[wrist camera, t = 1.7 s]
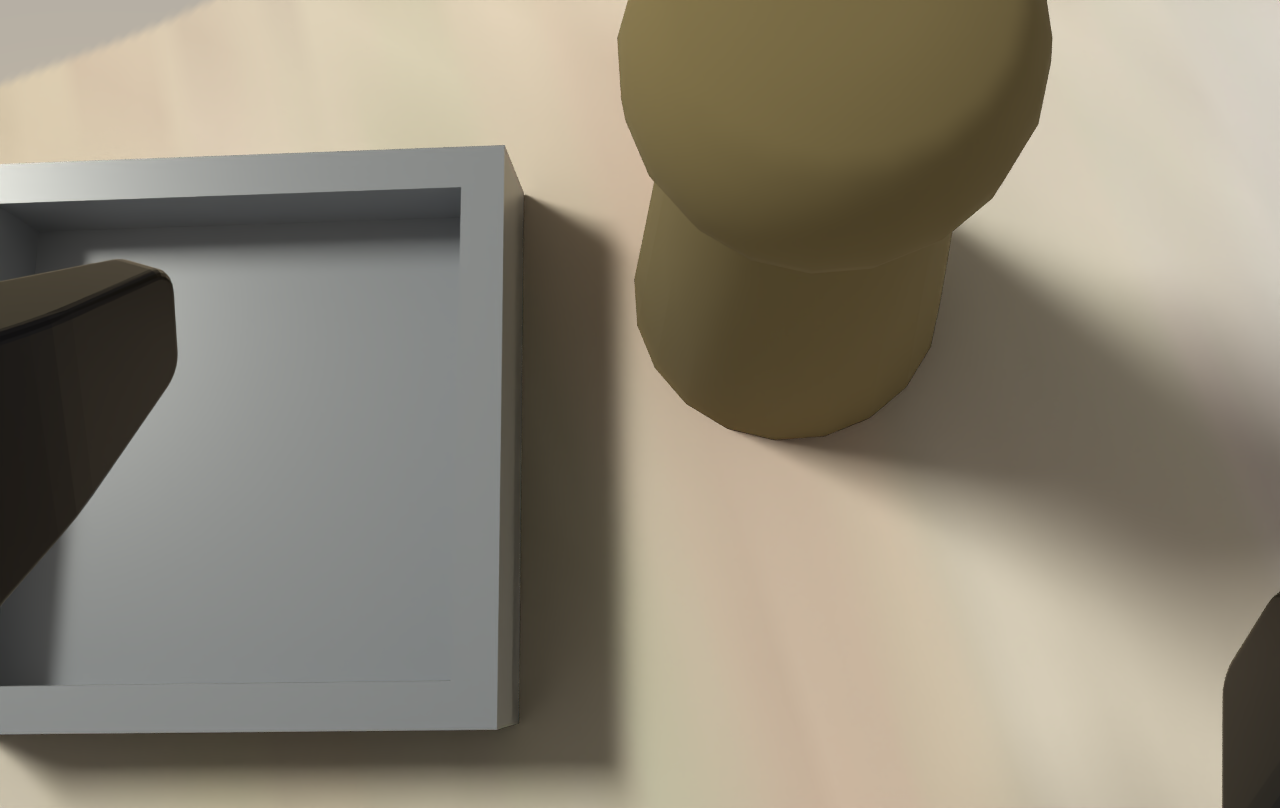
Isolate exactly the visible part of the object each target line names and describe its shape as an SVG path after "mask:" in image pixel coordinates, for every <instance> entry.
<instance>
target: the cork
mask: <svg viewBox="0 0 1280 808" xmlns="http://www.w3.org/2000/svg"><path fill="white" fill-rule="evenodd" d="M617 40H618V56H619V71H620V87H621V100H622V105H623V110H624V115H625V120H626V123H627V125H628V127H629V130H630V132H631V134H632V137H633V139H634V141H635V144H636V146H637V148H638V151H639V153H640V155H641V158H642V160H643V162H644V165H645V167H646V169H647V172H648V174H649V176H650V177H651V178H652V180H653V181H654V186H653V191H652V196H651V201H650V206H649V211H648V215H647V220H646V225H645V230H644V235H643V240H642V245H641V250H640V255H639V259H638V264H637V269H636V274H635V279H634V282H635V297H636V313H637V326H638V328H639V330H640V333H641V335H642V338H643V340H644V342H645V345H646V347H647V350H648V352H649V355H650V357H651V359H652V362H653V364H654V367H655V368H656V370H657V371H658V372H659V373H660V374H661V375H662V376H663V378H664V379H665V380H666V381H667V382H668V383H669V385H670V386H671V387H672V388H673V389H674V390H675V392H676V393H677V394H678V395H679V396H680V397H681V398H682V400H683V401H684V402H685V403H686V404H688V405H689V406H691V407H692V408H694V409H696V410H697V411H699V412H701V413H702V414H704V415H706V416H707V417H709V418H711V419H712V420H714V421H716V422H717V423H719V424H721V425H722V426H724V427H726V428H727V429H732V430H736V431H740V432H744V433H748V434H753V435H757V436H761V437H765V438H769V439H773V440H780V439H794V438H807V437H821V436H826V435H829V434H831V433H834V432H836V431H838V430H841V429H843V428H846V427H848V426H851V425H853V424H856V423H858V422H861V421H863V420H866V419H868V418H870V417H871V416H872V415H874V414H875V413H876V412H877V411H878V410H880V409H881V408H882V407H883V406H884V405H886V404H887V403H888V402H889V401H890V400H891V399H893V398H894V397H895V396H896V395H897V394H899V393H900V392H901V391H902V390H903V389H904V388H906V387H907V385H908V383H909V382H910V380H911V378H912V377H913V375H914V373H915V372H916V370H917V368H918V367H919V365H920V363H921V362H922V360H923V358H924V357H925V355H926V353H927V352H928V350H929V349H930V347H931V342H932V338H933V333H934V328H935V324H936V319H937V314H938V310H939V305H940V300H941V294H942V288H943V283H944V277H945V271H946V265H947V259H948V254H949V248H950V242H951V236H952V231H954V230H955V229H956V228H957V227H958V226H960V225H961V224H962V223H963V222H964V221H966V220H967V219H968V218H969V217H970V216H972V215H973V214H974V213H975V212H976V211H978V210H979V209H980V208H981V207H982V206H984V205H985V204H986V203H987V202H988V201H990V200H991V199H992V198H993V197H994V195H995V193H996V192H997V190H998V189H999V187H1000V186H1001V184H1002V183H1003V181H1004V179H1005V178H1006V176H1007V175H1008V173H1009V171H1010V170H1011V168H1012V166H1013V165H1014V163H1015V161H1016V160H1017V158H1018V157H1019V155H1020V153H1021V152H1022V150H1023V148H1024V147H1025V145H1026V143H1027V142H1028V140H1029V138H1030V137H1031V135H1032V134H1033V132H1034V130H1035V129H1036V127H1037V125H1038V123H1039V119H1040V114H1041V109H1042V104H1043V99H1044V94H1045V89H1046V84H1047V79H1048V74H1049V69H1050V65H1051V53H1052V32H1051V26H1050V19H1049V12H1048V6H1047V0H628V2H627V6H626V9H625V13H624V16H623V20H622V23H621V27H620V30H619V34H618V38H617Z"/></svg>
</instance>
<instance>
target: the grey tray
mask: <svg viewBox="0 0 1280 808" xmlns="http://www.w3.org/2000/svg"><path fill="white" fill-rule="evenodd" d="M523 227H524V192H523V190H522V187H521V185H520V182H519V180H518V177H517V175H516V172H515V170H514V167H513V165H512V162H511V160H510V157H509V155H508V153H507V150H506V148H505V145H496V146H470V147H443V148H416V149H390V150H363V151H337V152H310V153H284V154H257V155H231V156H204V157H178V158H151V159H124V160H98V161H71V162H45V163H18V164H0V281H4V280H9V279H14V278H19V277H25V276H30V275H35V274H40V273H45V272H50V271H55V270H61V269H66V268H71V267H76V266H81V265H86V264H91V263H97V262H102V261H107V260H112V259H126V260H129V261H133V262H137V263H140V264H144V265H147V266H151V267H154V268H158V269H161V270H163V271H164V272H165V273H166V274H167V275H168V276H169V277H170V279H171V282H172V284H173V289H174V301H175V317H176V332H177V348H178V359H177V366H176V370H175V373H174V376H173V378H172V380H171V382H170V384H169V386H168V387H167V389H166V390H165V392H164V393H163V395H162V396H161V397H160V399H159V400H158V402H157V403H156V405H155V406H154V408H153V409H152V410H151V412H150V413H149V415H148V416H147V418H146V419H145V421H144V422H143V424H142V425H141V426H140V428H139V429H138V431H137V432H136V434H135V435H134V437H133V438H132V440H131V441H130V442H129V444H128V445H127V447H126V448H125V450H124V451H123V453H122V454H121V456H120V457H119V458H118V460H117V461H116V463H115V464H114V466H113V467H112V469H111V470H110V471H109V473H108V474H107V476H106V477H105V479H104V480H103V482H102V483H101V485H100V486H99V487H98V489H97V490H96V492H95V493H94V495H93V496H92V497H91V499H90V500H89V501H88V503H87V504H86V505H85V507H84V508H83V510H82V511H81V512H80V514H79V515H78V516H77V518H76V519H75V520H74V521H73V522H72V524H71V525H70V526H69V527H68V528H67V530H66V531H65V532H64V533H63V535H62V536H61V537H60V538H59V539H58V541H57V542H56V543H55V544H54V545H53V546H52V547H51V549H50V550H49V551H48V552H47V553H46V554H45V556H44V557H43V558H42V559H41V560H40V561H39V562H38V564H37V565H36V566H35V567H34V568H33V569H32V570H31V572H30V573H29V574H28V575H27V576H26V577H25V579H24V580H23V581H22V582H21V583H20V584H19V585H18V587H17V588H16V589H15V590H14V591H13V592H12V593H11V595H10V596H9V597H8V598H7V599H6V600H5V602H4V603H3V604H2V605H1V606H0V734H92V733H197V732H302V731H408V730H497V729H501V728H504V727H508V726H511V725H515V724H518V723H519V659H520V551H521V443H522V335H523Z"/></svg>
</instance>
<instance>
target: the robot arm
mask: <svg viewBox="0 0 1280 808" xmlns="http://www.w3.org/2000/svg"><path fill="white" fill-rule="evenodd" d="M177 359H178V348H177V332H176V317H175V301H174V289H173V284H172V282H171V279H170V277H169V276H168V275H167V274H166V273H165V272H164V271H163V270H161V269H158V268H154V267H151V266H147V265H144V264H140V263H137V262H133V261H129V260H126V259H112V260H107V261H102V262H97V263H91V264H86V265H81V266H76V267H71V268H66V269H61V270H55V271H50V272H45V273H40V274H35V275H30V276H25V277H19V278H14V279H9V280H4V281H0V606H1V605H2V604H3V603H4V602H5V600H6V599H7V598H8V597H9V596H10V595H11V593H12V592H13V591H14V590H15V589H16V588H17V587H18V585H19V584H20V583H21V582H22V581H23V580H24V579H25V577H26V576H27V575H28V574H29V573H30V572H31V570H32V569H33V568H34V567H35V566H36V565H37V564H38V562H39V561H40V560H41V559H42V558H43V557H44V556H45V554H46V553H47V552H48V551H49V550H50V549H51V547H52V546H53V545H54V544H55V543H56V542H57V541H58V539H59V538H60V537H61V536H62V535H63V533H64V532H65V531H66V530H67V528H68V527H69V526H70V525H71V524H72V522H73V521H74V520H75V519H76V518H77V516H78V515H79V514H80V512H81V511H82V510H83V508H84V507H85V505H86V504H87V503H88V501H89V500H90V499H91V497H92V496H93V495H94V493H95V492H96V490H97V489H98V487H99V486H100V485H101V483H102V482H103V480H104V479H105V477H106V476H107V474H108V473H109V471H110V470H111V469H112V467H113V466H114V464H115V463H116V461H117V460H118V458H119V457H120V456H121V454H122V453H123V451H124V450H125V448H126V447H127V445H128V444H129V442H130V441H131V440H132V438H133V437H134V435H135V434H136V432H137V431H138V429H139V428H140V426H141V425H142V424H143V422H144V421H145V419H146V418H147V416H148V415H149V413H150V412H151V410H152V409H153V408H154V406H155V405H156V403H157V402H158V400H159V399H160V397H161V396H162V395H163V393H164V392H165V390H166V389H167V387H168V386H169V384H170V382H171V380H172V378H173V376H174V373H175V370H176V366H177ZM1222 808H1280V592H1279V593H1277V594H1276V595H1275V596H1274V597H1273V598H1272V599H1271V600H1270V602H1269V603H1268V604H1267V606H1266V608H1265V609H1264V611H1263V612H1262V614H1261V616H1260V617H1259V619H1258V620H1257V622H1256V624H1255V625H1254V627H1253V628H1252V630H1251V632H1250V633H1249V635H1248V636H1247V638H1246V640H1245V641H1244V643H1243V644H1242V646H1241V648H1240V649H1239V651H1238V652H1237V654H1236V656H1235V657H1234V659H1233V660H1232V662H1231V664H1230V666H1229V669H1228V671H1227V674H1226V677H1225V681H1224V687H1223V719H1222Z"/></svg>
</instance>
